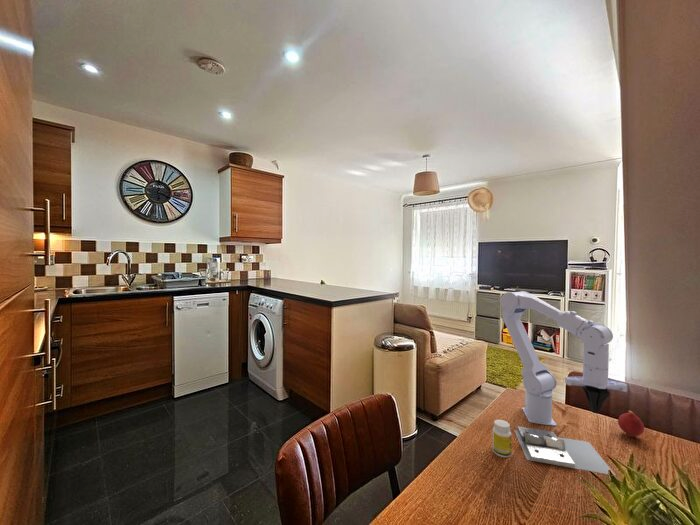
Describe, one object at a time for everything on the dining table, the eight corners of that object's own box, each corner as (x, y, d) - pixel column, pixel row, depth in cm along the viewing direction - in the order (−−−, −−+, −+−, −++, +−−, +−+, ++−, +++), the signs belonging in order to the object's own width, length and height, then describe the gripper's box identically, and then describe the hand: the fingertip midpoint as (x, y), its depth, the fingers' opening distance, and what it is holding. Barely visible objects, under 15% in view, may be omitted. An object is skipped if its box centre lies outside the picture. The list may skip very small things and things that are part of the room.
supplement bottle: (513, 459, 80) (514, 429, 80) (495, 457, 81) (495, 427, 81) (507, 448, 85) (508, 419, 85) (490, 445, 86) (490, 417, 86)
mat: (514, 430, 93) (514, 430, 93) (588, 442, 88) (588, 442, 88) (527, 460, 80) (527, 459, 80) (616, 476, 74) (616, 475, 74)
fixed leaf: (515, 429, 94) (515, 419, 94) (553, 435, 91) (553, 425, 90) (523, 447, 85) (523, 436, 85) (565, 454, 82) (566, 443, 82)
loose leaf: (522, 440, 88) (522, 430, 88) (561, 447, 85) (561, 436, 85) (531, 460, 79) (531, 449, 79) (575, 468, 76) (575, 456, 76)
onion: (632, 431, 93) (633, 406, 93) (649, 442, 88) (650, 416, 87) (613, 430, 94) (613, 405, 94) (628, 441, 88) (629, 415, 88)
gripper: (572, 368, 85) (571, 414, 85) (634, 374, 80) (633, 423, 81) (562, 359, 91) (561, 402, 92) (619, 365, 87) (618, 410, 87)
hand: (594, 411), depth 87 cm, fingers closed
